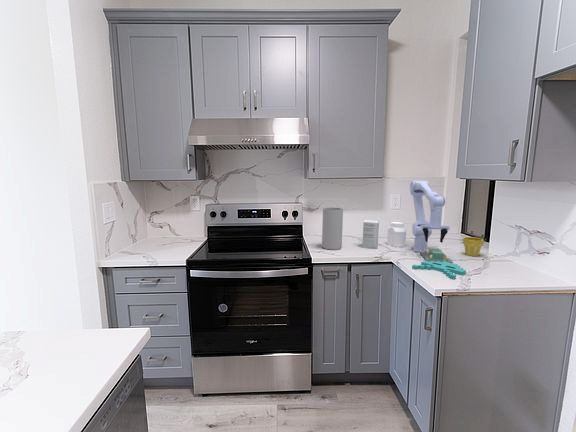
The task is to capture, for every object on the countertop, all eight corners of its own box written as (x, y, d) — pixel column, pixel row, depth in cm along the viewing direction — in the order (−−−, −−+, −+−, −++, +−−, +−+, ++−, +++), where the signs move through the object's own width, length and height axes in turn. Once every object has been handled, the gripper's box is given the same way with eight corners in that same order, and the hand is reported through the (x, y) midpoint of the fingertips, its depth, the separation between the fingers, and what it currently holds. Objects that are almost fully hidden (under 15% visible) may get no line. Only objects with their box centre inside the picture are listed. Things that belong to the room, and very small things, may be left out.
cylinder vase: (339, 250, 187) (341, 210, 183) (319, 249, 191) (320, 209, 187) (343, 246, 199) (344, 208, 195) (324, 244, 203) (325, 207, 199)
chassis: (420, 253, 182) (420, 247, 182) (443, 255, 179) (444, 249, 179) (426, 262, 165) (427, 255, 164) (452, 263, 162) (453, 257, 162)
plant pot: (458, 254, 181) (460, 238, 180) (465, 251, 188) (467, 236, 187) (478, 258, 174) (479, 241, 172) (484, 255, 180) (486, 238, 179)
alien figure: (453, 280, 138) (471, 271, 151) (453, 275, 138) (471, 267, 151) (412, 269, 154) (431, 262, 166) (412, 265, 154) (431, 258, 166)
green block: (428, 253, 178) (429, 248, 177) (438, 254, 177) (438, 248, 176) (433, 259, 167) (433, 252, 167) (443, 259, 166) (443, 253, 166)
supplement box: (363, 244, 204) (364, 219, 202) (377, 245, 201) (379, 220, 199) (362, 247, 195) (363, 221, 193) (377, 249, 192) (378, 222, 190)
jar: (408, 246, 200) (409, 223, 198) (397, 247, 196) (398, 224, 194) (395, 242, 210) (396, 221, 208) (384, 243, 206) (385, 222, 204)
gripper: (423, 218, 167) (421, 242, 169) (452, 219, 164) (449, 244, 166) (420, 216, 174) (418, 239, 176) (448, 217, 171) (446, 241, 173)
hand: (433, 241), depth 172 cm, fingers open, 7 cm apart
